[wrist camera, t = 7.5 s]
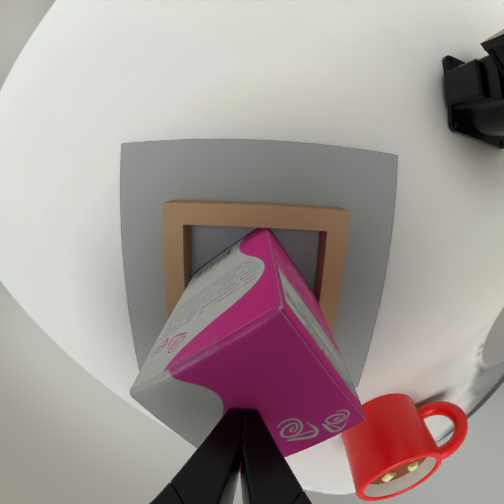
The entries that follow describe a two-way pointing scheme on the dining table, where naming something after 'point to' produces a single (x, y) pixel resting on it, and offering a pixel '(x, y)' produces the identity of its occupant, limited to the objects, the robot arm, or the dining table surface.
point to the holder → (257, 225)
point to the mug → (398, 445)
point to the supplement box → (249, 352)
